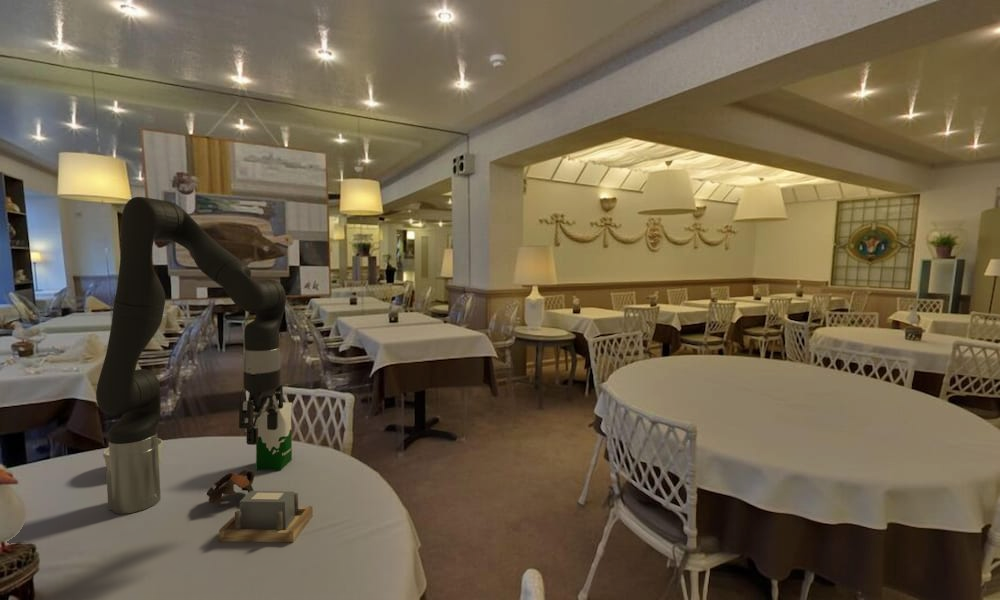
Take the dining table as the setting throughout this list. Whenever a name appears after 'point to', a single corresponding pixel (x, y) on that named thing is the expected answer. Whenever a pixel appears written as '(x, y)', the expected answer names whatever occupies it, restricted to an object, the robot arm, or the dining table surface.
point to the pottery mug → (231, 485)
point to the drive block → (266, 509)
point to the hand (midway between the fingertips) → (262, 436)
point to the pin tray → (236, 533)
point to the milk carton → (274, 441)
